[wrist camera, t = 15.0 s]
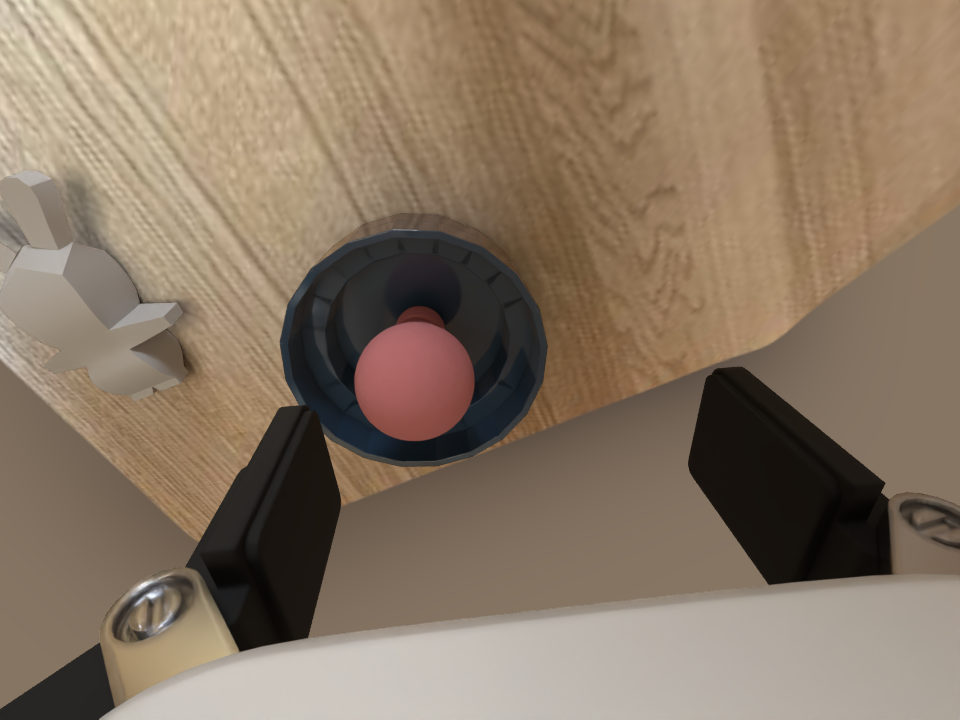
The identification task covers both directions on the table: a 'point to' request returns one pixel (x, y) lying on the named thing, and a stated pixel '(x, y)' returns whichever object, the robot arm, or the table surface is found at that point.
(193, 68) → the table surface
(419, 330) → the light bulb
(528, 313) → the dark grey round tub
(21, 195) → the bunny figurine
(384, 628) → the robot arm
